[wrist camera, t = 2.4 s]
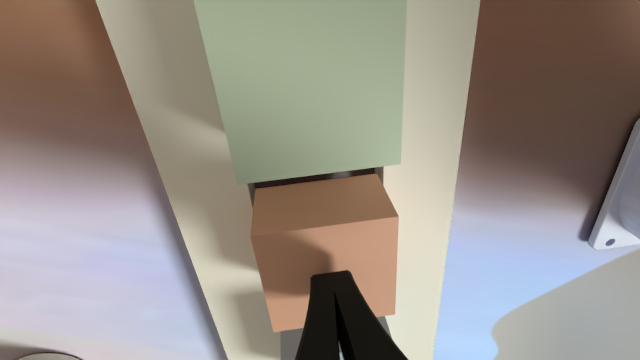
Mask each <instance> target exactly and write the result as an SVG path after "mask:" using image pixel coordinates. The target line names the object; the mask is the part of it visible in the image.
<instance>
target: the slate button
mask: <svg viewBox="0 0 640 360" xmlns="http://www.w3.org/2000/svg"><path fill="white" fill-rule="evenodd" d="M376 318H377V319H378V321H379V322H380V323H381V325H382V326H383V328H384V329H385V330H386V332H387V333H388V334H389V336H390V337H391V333H390V330H389V327H388V324H387V321H386V318H385V316H381V317H376ZM302 332H303V328H299V329H292V330H285V331H280V347H281V360H295V357H296V354H297V350H298V347H299V343H300V340H301V336H302ZM391 338H392V337H391ZM339 351H340V360H343V356H342V352H341V348H340V344H339Z"/></svg>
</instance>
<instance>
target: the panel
mask: <svg viewBox="0 0 640 360" xmlns="http://www.w3.org/2000/svg"><path fill="white" fill-rule="evenodd" d="M95 1H96V3H97V6H98V9H99V11H100V14H101V17H102V19H103V22H104V25H105V28H106V30H107V33H108V36H109V38H110V41H111V44H112V47H113V49H114V52H115V55H116V57H117V60H118V63H119V65H120V68H121V71H122V74H123V76H124V79H125V82H126V84H127V87H128V90H129V93H130V95H131V98H132V101H133V103H134V106H135V109H136V111H137V114H138V117H139V120H140V122H141V125H142V128H143V130H144V133H145V136H146V139H147V141H148V144H149V147H150V149H151V152H152V155H153V157H154V160H155V163H156V166H157V168H158V171H159V174H160V176H161V179H162V182H163V185H164V187H165V190H166V193H167V195H168V198H169V201H170V203H171V206H172V209H173V212H174V214H175V217H176V220H177V222H178V225H179V228H180V231H181V233H182V236H183V239H184V241H185V244H186V247H187V249H188V252H189V255H190V258H191V260H192V263H193V266H194V268H195V271H196V274H197V277H198V279H199V282H200V285H201V287H202V290H203V293H204V295H205V298H206V301H207V304H208V306H209V309H210V312H211V314H212V317H213V320H214V323H215V325H216V328H217V331H218V333H219V336H220V339H221V341H222V344H223V347H224V350H225V352H226V355H227V358H228V360H281V347H280V331H278V332H273V328H272V324H271V320H270V316H269V312H268V307H267V303H266V299H265V295H264V291H263V287H262V283H261V278H260V274H259V270H258V266H257V262H256V258H255V254H254V250H253V245H252V241H251V237H250V234H251V225H252V216H253V207H254V198H255V187H254V183H248V184H240V185H238V183H237V179H236V175H235V171H234V167H233V163H232V159H231V154H230V150H229V146H228V142H227V138H226V134H225V130H224V125H223V121H222V117H221V113H220V109H219V105H218V101H217V96H216V92H215V88H214V84H213V80H212V76H211V72H210V67H209V63H208V59H207V55H206V51H205V47H204V43H203V39H202V34H201V30H200V26H199V22H198V18H197V14H196V10H195V5H194V1H193V0H95ZM479 7H480V0H407V11H406V37H405V64H404V91H403V118H402V144H401V164H399V165H391V166H383V167H375V174H376V173H377V174H378V176H379V178H380V180H381V182H382V184H383V186H384V188H385V190H386V192H387V194H388V196H389V198H390V200H391V202H392V204H393V206H394V208H395V210H396V212H397V214H398V216H399V225H398V251H397V278H396V305H395V315H388V316H385V318H386V321H387V324H388V327H389V330H390V333H391V337H392V340H393V341H394V342H395V344H396V345H397V346H398V347H399V349H400V350H401V351H402V352H403V354H404V355H405V356H406V357H407V358H408V360H432V359H433V352H434V344H435V337H436V329H437V322H438V314H439V307H440V299H441V292H442V284H443V277H444V269H445V262H446V254H447V247H448V239H449V232H450V224H451V217H452V209H453V202H454V195H455V187H456V180H457V172H458V165H459V157H460V150H461V142H462V135H463V127H464V120H465V112H466V105H467V97H468V90H469V82H470V75H471V67H472V60H473V52H474V45H475V37H476V30H477V22H478V15H479Z"/></svg>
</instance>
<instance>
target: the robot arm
mask: <svg viewBox="0 0 640 360" xmlns="http://www.w3.org/2000/svg"><path fill="white" fill-rule="evenodd" d="M588 244H589V246H591V247H592V248H593V249H595V250H601V249H608V248H615V247H622V246H629V245H636V244H640V118H639V119H638V120H637V122H636V123H635V125H634V128H633V130H632V133H631V135H630V138H629V140H628V143H627V145H626V148H625V150H624V153H623V155H622V158H621V160H620V163H619V165H618V168H617V170H616V173H615V175H614V178H613V180H612V183H611V185H610V188H609V190H608V193H607V195H606V198H605V200H604V203H603V205H602V208H601V210H600V213H599V215H598V218H597V220H596V223H595V225H594V228H593V230H592V233H591V235H590V238H589V241H588ZM310 282H311V284H310V297H309V303H308V310H307V314H306V319H305V324H304V328H303V332H302V336H301V340H300V343H299V347H298V350H297V354H296V357H295V360H340V351H339V344H340V348H341V352H342V356H343V360H408V358H407V357H406V356H405V355H404V354H403V352H402V351H401V350H400V349H399V347H398V346H397V345H396V344H395V342H394V341H393V340H392V338H391V337H390V336H389V334H388V333H387V332H386V330H385V329H384V328H383V326H382V325H381V323H380V322H379V321H378V319H377V318H376V316H375V315H374V313H373V312H372V310H371V309H370V307H369V305H368V304H367V302H366V301H365V299H364V297H363V295H362V294H361V292H360V290H359V288H358V286H357V285H356V283H355V280H354V278H353V276H352V274H351V272H350V271H348V270H344V271H337V272H330V273H323V274H316V275H313V276H312V277H310Z"/></svg>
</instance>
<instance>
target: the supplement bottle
mask: <svg viewBox="0 0 640 360" xmlns="http://www.w3.org/2000/svg"><path fill="white" fill-rule="evenodd" d="M18 360H80V359H78V358H75V357H72V356H69V355H64V354H56V353H39V354H32V355H28V356H25V357H22V358H20V359H18Z"/></svg>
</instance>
